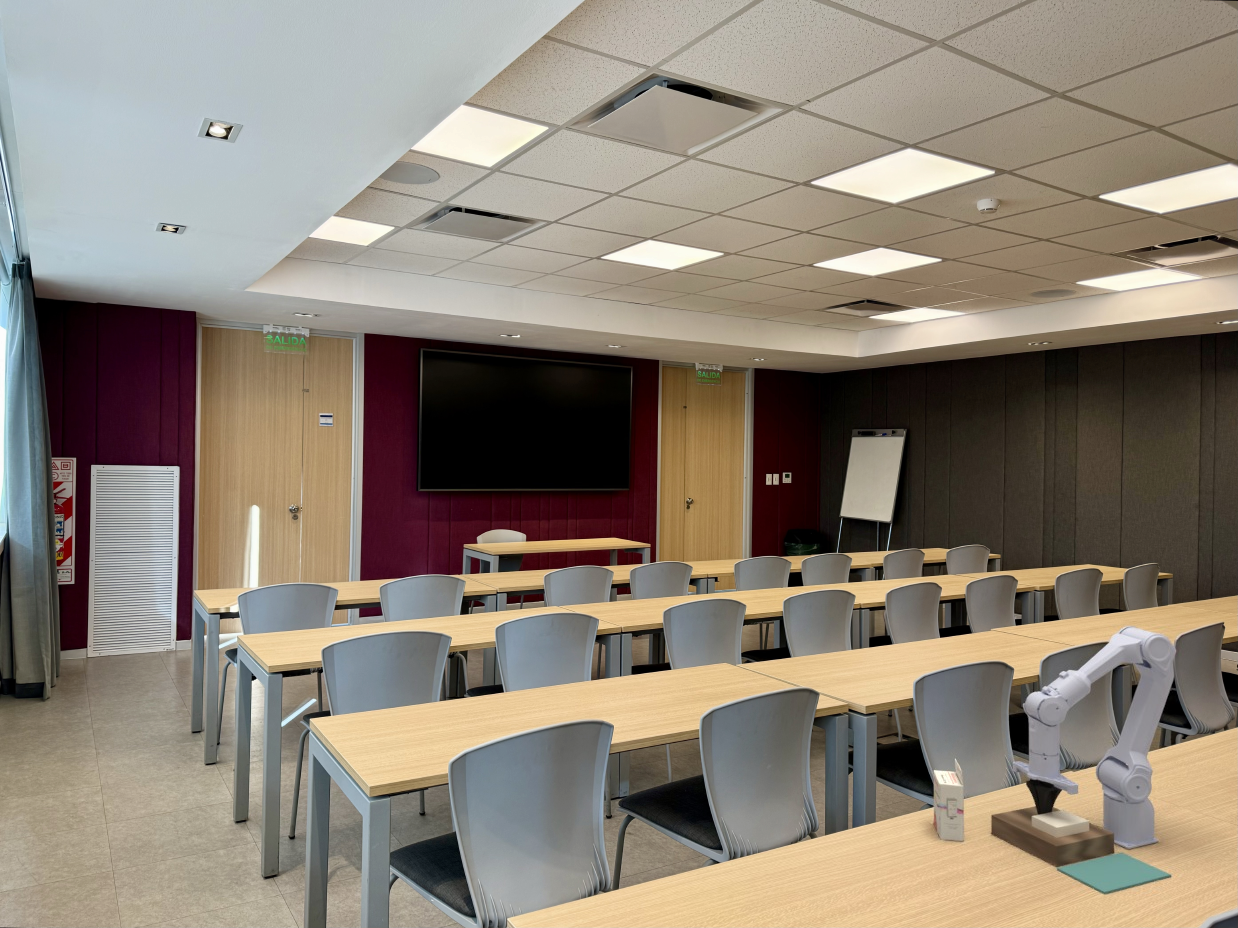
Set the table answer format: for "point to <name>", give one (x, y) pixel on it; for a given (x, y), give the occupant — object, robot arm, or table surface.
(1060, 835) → the tile
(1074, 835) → the stand
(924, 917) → the table surface
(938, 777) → the ink cartridge box
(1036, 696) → the robot arm
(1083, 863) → the mat
